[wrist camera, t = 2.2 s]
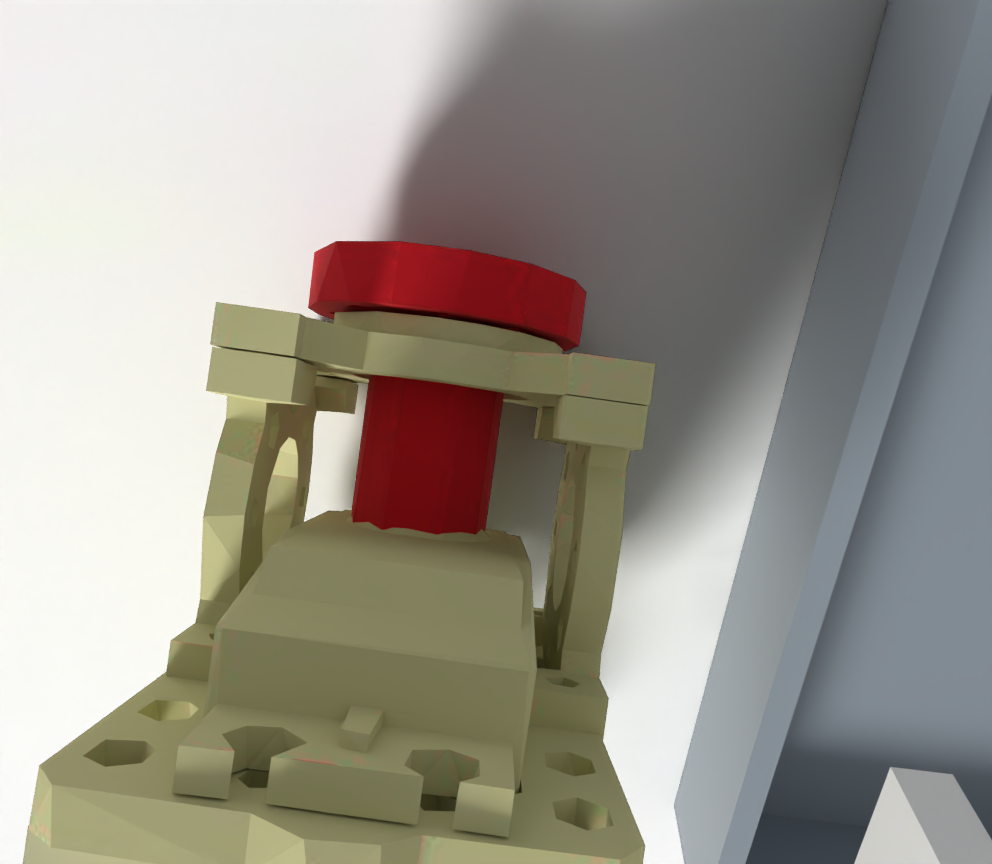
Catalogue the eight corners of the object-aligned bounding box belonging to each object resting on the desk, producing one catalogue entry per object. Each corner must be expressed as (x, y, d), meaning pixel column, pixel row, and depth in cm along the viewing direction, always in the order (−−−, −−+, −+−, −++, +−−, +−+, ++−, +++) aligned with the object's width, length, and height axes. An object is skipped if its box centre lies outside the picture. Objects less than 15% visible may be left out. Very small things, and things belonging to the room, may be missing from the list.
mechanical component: (597, 250, 28) (871, -197, 8) (522, 791, 28) (619, 1653, 8) (356, 216, 28) (50, -320, 8) (279, 759, 28) (-221, 1554, 8)
